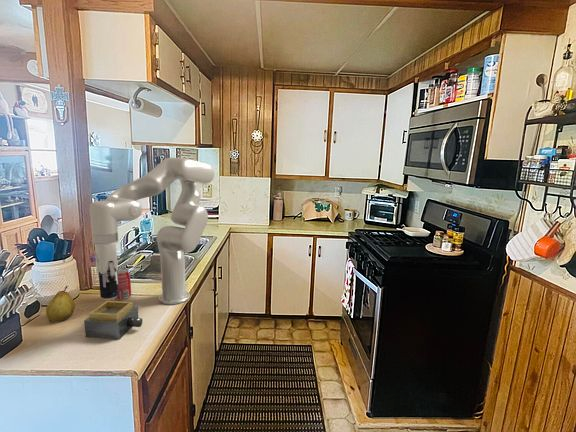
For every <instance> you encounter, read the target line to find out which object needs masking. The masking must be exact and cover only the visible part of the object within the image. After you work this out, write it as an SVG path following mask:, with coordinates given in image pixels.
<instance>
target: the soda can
mask: <svg viewBox="0 0 576 432" xmlns="http://www.w3.org/2000/svg"><path fill="white" fill-rule="evenodd" d="M118 284H119V295H118V296H117V297H116V298H114V299H113V300H116V301H124V300H127V299H129V297H131V296H132V283H131V273H130V272H129V270H128V269H127V268H118Z"/></svg>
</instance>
